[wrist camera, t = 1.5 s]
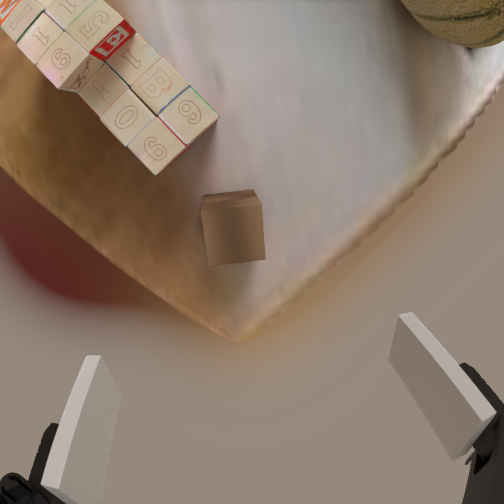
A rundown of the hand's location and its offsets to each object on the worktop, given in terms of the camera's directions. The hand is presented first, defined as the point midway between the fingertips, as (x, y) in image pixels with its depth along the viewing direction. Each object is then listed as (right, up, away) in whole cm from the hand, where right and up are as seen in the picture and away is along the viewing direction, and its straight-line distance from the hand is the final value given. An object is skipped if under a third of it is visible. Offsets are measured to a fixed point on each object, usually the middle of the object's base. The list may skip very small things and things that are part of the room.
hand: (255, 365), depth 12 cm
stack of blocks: (-12, +23, +12) cm, 29 cm away
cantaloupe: (+20, +35, +11) cm, 42 cm away
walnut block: (-2, +8, +19) cm, 21 cm away
